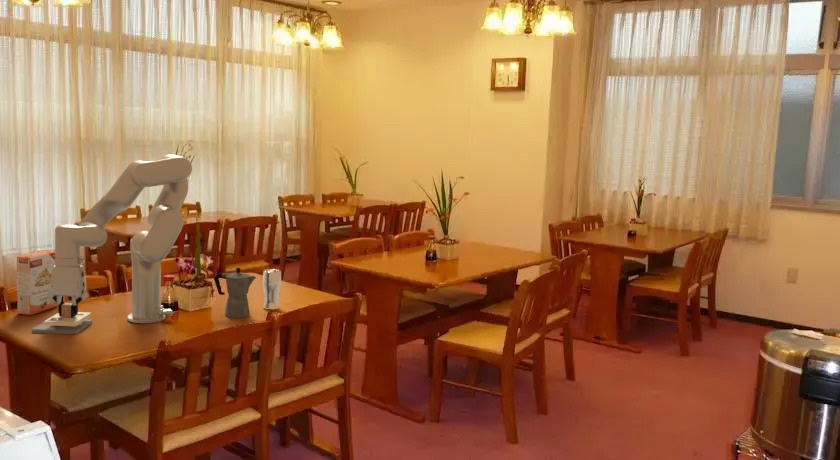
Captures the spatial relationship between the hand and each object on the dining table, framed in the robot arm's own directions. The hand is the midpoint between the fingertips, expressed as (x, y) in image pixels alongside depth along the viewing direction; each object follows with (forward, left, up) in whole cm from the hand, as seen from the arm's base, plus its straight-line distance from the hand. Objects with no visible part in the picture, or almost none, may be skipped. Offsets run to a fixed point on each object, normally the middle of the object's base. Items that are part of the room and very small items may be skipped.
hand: (68, 315), depth 237 cm
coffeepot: (-50, -24, -5) cm, 56 cm away
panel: (0, 0, -2) cm, 2 cm away
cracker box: (+19, -20, -5) cm, 28 cm away
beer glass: (-62, -35, -5) cm, 72 cm away
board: (+2, 0, -4) cm, 5 cm away
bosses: (+2, 0, -3) cm, 4 cm away
